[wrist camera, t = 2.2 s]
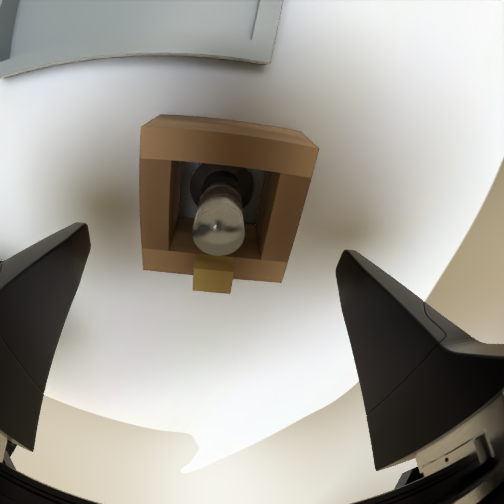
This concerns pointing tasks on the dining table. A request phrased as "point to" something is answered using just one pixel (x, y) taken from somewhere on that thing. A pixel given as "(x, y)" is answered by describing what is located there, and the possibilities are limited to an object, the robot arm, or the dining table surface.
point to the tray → (133, 30)
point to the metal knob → (220, 206)
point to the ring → (231, 154)
